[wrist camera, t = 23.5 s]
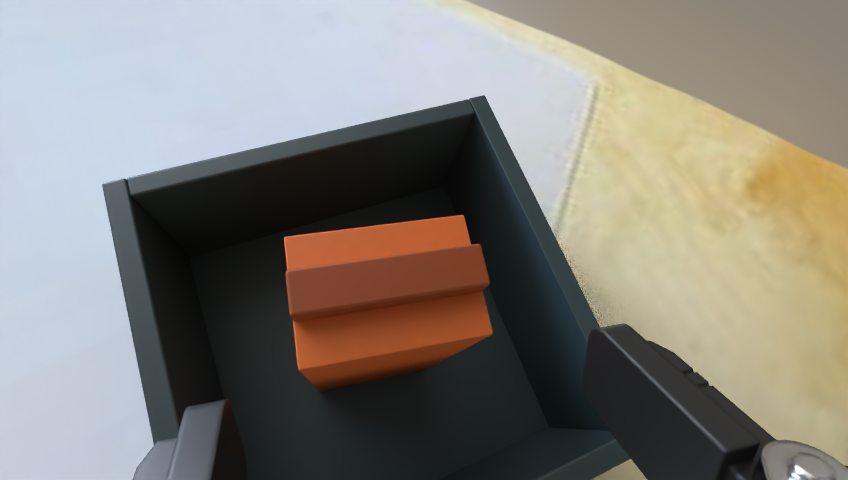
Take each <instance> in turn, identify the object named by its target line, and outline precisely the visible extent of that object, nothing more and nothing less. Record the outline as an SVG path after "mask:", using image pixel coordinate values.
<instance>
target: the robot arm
mask: <svg viewBox="0 0 848 480" xmlns="http://www.w3.org/2000/svg"><path fill="white" fill-rule="evenodd" d="M582 388H583V392H584V395H585V398H586V400H587V402H588V404H589V405H590V407H591V408H592V409H593V411H594V412H595V413H596V415H597V416H598V417H599V418H600V420H601V421H602V422H603V423H604V425H605V426H606V427H607V429H608V430H609V431H610V432H611V434H612V435H613V436H614V437H615V439H616V440H617V441H618V443H619V444H620V445H621V446H622V448H623V449H624V450H625V451H626V453H627V454H628V455H629V457H630V458H631V459H632V460H633V462H634V463H635V464H636V465H637V467H638V468H639V469H640V471H641V472H642V473H643V474H644V476H645V477H646V478H647V479H648V480H848V466H844V465H843V464H842V463H840V462H839V461H838V460H836V459H835V458H833V457H832V456H830V455H828V454H827V453H825V452H823V451H821V450H819V449H817V448H815V447H812V446H809V445H807V444H803V443H800V442H796V441H790V440H776V439H775V438H773V437H772V436H771V435H770V434H768V433H767V432H766V431H765V430H764V429H763V428H761V427H760V426H759V425H758V424H757V423H756V422H754V421H753V420H752V419H751V418H750V417H749V416H747V415H746V414H745V413H744V412H743V411H742V410H740V409H739V408H738V407H737V406H736V405H735V404H733V403H732V402H731V401H730V400H729V399H727V398H726V397H725V396H724V395H723V394H722V393H720V392H719V391H718V390H717V389H716V388H715V387H713V386H709V384H708V381H706V380H705V379H704V378H703V377H702V376H701V375H699V374H698V373H697V372H695V373H694V372H693V369H692V368H691V367H690V366H689V365H688V364H687V363H685V362H684V361H683V360H682V359H681V358H679V357H678V356H677V355H676V354H675V353H673V352H671V351H669V350H667V349H666V348H664V347H662V346H660V345H658V344H656V343H654V342H652V341H646V340H645V339H644V338H643V337H642V336H640V335H639V334H638V333H637V332H636V331H635V330H634V329H633V328H631V327H630V326H629V325H627V324H617V325H612V326H607V327H601V328H596V329H593V330H592V331H591V332H590V334H589V338H588V344H587V351H586V357H585V363H584V369H583V376H582ZM133 480H247V464H246V457H245V452H244V448H243V444H242V441H241V437H240V433H239V430H238V426H237V422H236V419H235V415H234V411H233V408H232V404H231V402H230V400H229V399H225V400H220V401H215V402H210V403H205V404H200V405H194V406H189V407H187V408H186V409H185V411H184V414H183V418H182V421H181V425H180V429H179V432H178V436H177V438H172V439H167V440H163V441H158V442H157V443H156V444H155V445H154V447H153V448H152V449H151V450H150V452H149V453H148V454H147V456H146V457H145V458H144V459H143V461H142V462H141V463H140V464H139V466H138V467H137V469H136V471H135V474H134V477H133Z"/></svg>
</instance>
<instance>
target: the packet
mask: <svg viewBox="0 0 848 480" xmlns="http://www.w3.org/2000/svg"><path fill="white" fill-rule="evenodd" d="M284 244H285V253H286V263H287V271H286V274H285V275H286V285H287V294H288V304H289V313H290V316H291V318H292V319H293V327H294V337H295V346H296V355H297V364H298V370H299V371H300V372H301V373H302V374H303V375H304V376H305V377H306V378H307V379H308V380H309V381H310V382H311V383H312V384H313V385H314V386H315V388H316V389H317V390H318V391H325V390H330V389H335V388H340V387H345V386H350V385H355V384H360V383H365V382H370V381H375V380H380V379H385V378H390V377H395V376H400V375H405V374H410V373H415V372H420V371H425V370H427V369H428V368H430V367H432V366H434V365H436V364H438V363H440V362H442V361H443V360H445V359H447V358H449V357H451V356H453V355H455V354H456V353H458V352H460V351H462V350H464V349H466V348H468V347H470V346H471V345H473V344H475V343H477V342H479V341H481V340H483V339H485V338H486V337H488V336H490V335H492V334H493V331H492V327H491V323H490V319H489V315H488V310H487V306H486V302H485V298H484V294H483V290H484V289H485V288H486V287H487V286H488V285H490V279H489V275H488V271H487V267H486V263H485V260H484V256H483V252H482V248H481V245H480V244H472V245H471V242H470V238H469V234H468V230H467V226H466V222H465V218H464V215H457V216H449V217H441V218H433V219H425V220H417V221H409V222H401V223H393V224H385V225H377V226H368V227H360V228H352V229H344V230H336V231H328V232H320V233H312V234H304V235H296V236H288V237H284Z"/></svg>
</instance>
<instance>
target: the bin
mask: <svg viewBox="0 0 848 480" xmlns="http://www.w3.org/2000/svg"><path fill="white" fill-rule="evenodd" d="M102 186H103V191H104V196H105V201H106V206H107V211H108V216H109V221H110V226H111V231H112V236H113V241H114V246H115V251H116V256H117V261H118V266H119V271H120V276H121V281H122V287H123V292H124V297H125V302H126V307H127V312H128V317H129V322H130V327H131V332H132V337H133V342H134V347H135V352H136V357H137V362H138V367H139V372H140V377H141V382H142V387H143V392H144V397H145V402H146V407H147V412H148V417H149V422H150V427H151V432H152V437H153V442H154V445H155V444H156V443H157V442H158V441H163V440H167V439H172V438H177V436H178V432H179V429H180V425H181V421H182V418H183V414H184V411H185V409H186V408H187V407H189V406H194V405H200V404H205V403H210V402H215V401H220V400H225V399H229V400H230V402H231V404H232V408H233V411H234V415H235V419H236V422H237V426H238V430H239V433H240V437H241V441H242V444H243V448H244V452H245V457H246V464H247V480H591V479H593V478H595V477H597V476H599V475H601V474H603V473H604V472H606V471H608V470H610V469H612V468H614V467H616V466H618V465H619V464H621V463H623V462H625V461H627V460H629V459H631V458H630V457H629V455H628V454H627V453H626V451H625V450H624V449H623V448H622V446H621V445H620V444H619V443H618V441H617V440H616V439H615V437H614V436H613V435H612V434H611V432H610V431H609V430H608V429H607V427H606V426H605V425H604V423H603V422H602V421H601V420H600V418H599V417H598V416H597V415H596V413H595V412H594V411H593V409H592V408H591V407H590V405H589V404H588V402H587V400H586V398H585V395H584V392H583V388H582V376H583V369H584V363H585V357H586V351H587V344H588V338H589V334H590V332H591V331H592V330H593V329H596V328H600V327H599V325H598V322H597V320H596V318H595V316H594V314H593V312H592V310H591V308H590V306H589V304H588V302H587V300H586V298H585V296H584V294H583V292H582V290H581V288H580V286H579V284H578V282H577V280H576V278H575V276H574V274H573V272H572V270H571V268H570V266H569V264H568V262H567V260H566V258H565V256H564V254H563V252H562V250H561V248H560V246H559V244H558V242H557V240H556V238H555V236H554V234H553V232H552V230H551V228H550V226H549V224H548V222H547V220H546V218H545V216H544V214H543V212H542V210H541V208H540V206H539V204H538V202H537V200H536V198H535V196H534V194H533V192H532V190H531V188H530V186H529V184H528V182H527V180H526V178H525V176H524V174H523V172H522V170H521V168H520V166H519V164H518V162H517V160H516V158H515V156H514V154H513V152H512V150H511V148H510V146H509V144H508V142H507V140H506V138H505V136H504V134H503V132H502V130H501V128H500V126H499V124H498V122H497V120H496V117H495V115H494V113H493V111H492V109H491V107H490V105H489V103H488V101H487V99H486V97H485V96H484V95H483V96H479V97H475V98H470V99H469V100H463V101H459V102H455V103H450V104H446V105H442V106H437V107H433V108H429V109H424V110H420V111H416V112H411V113H407V114H403V115H398V116H394V117H390V118H385V119H381V120H377V121H372V122H368V123H364V124H359V125H355V126H351V127H346V128H342V129H338V130H333V131H329V132H325V133H320V134H316V135H312V136H307V137H303V138H299V139H294V140H290V141H286V142H281V143H277V144H273V145H268V146H264V147H260V148H255V149H251V150H246V151H242V152H238V153H233V154H229V155H225V156H220V157H216V158H212V159H207V160H203V161H199V162H194V163H190V164H186V165H181V166H177V167H173V168H168V169H164V170H160V171H155V172H151V173H147V174H142V175H138V176H134V177H129V178H127V180H126V179H120V180H116V181H112V182H107V183H104V184H103V185H102ZM457 215H464V218H465V222H466V226H467V230H468V234H469V238H470V242H471V245H472V244H480V245H481V248H482V252H483V256H484V260H485V263H486V267H487V271H488V275H489V279H490V285H488V286H487V287H486V288H485V289H484V290H483V294H484V298H485V302H486V306H487V310H488V315H489V319H490V323H491V327H492V331H493V334H492V335H490V336H488V337H486V338H485V339H483V340H481V341H479V342H477V343H475V344H473V345H471V346H470V347H468V348H466V349H464V350H462V351H460V352H458V353H456V354H455V355H453V356H451V357H449V358H447V359H445V360H443V361H442V362H440V363H438V364H436V365H434V366H432V367H430V368H428V369H427V370H425V371H420V372H415V373H410V374H405V375H400V376H395V377H390V378H385V379H380V380H375V381H370V382H365V383H360V384H355V385H350V386H345V387H340V388H335V389H330V390H325V391H318V390H317V389H316V388H315V386H314V385H313V384H312V383H311V382H310V381H309V380H308V379H307V378H306V377H305V376H304V375H303V374H302V373H301V372H300V371H299V370H298V364H297V355H296V346H295V337H294V327H293V319H292V318H291V316H290V313H289V304H288V294H287V285H286V275H285V274H286V271H287V263H286V253H285V244H284V237H288V236H296V235H304V234H312V233H320V232H328V231H336V230H344V229H352V228H360V227H368V226H377V225H385V224H393V223H401V222H409V221H417V220H425V219H433V218H441V217H449V216H457Z"/></svg>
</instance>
